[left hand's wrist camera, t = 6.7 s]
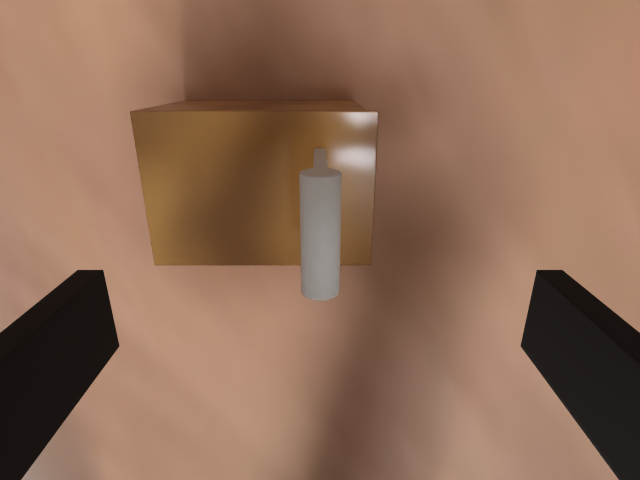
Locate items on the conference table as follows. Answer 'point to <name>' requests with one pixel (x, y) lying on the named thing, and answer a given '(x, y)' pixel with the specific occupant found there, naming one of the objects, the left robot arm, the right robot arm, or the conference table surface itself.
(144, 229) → the conference table surface
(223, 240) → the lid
